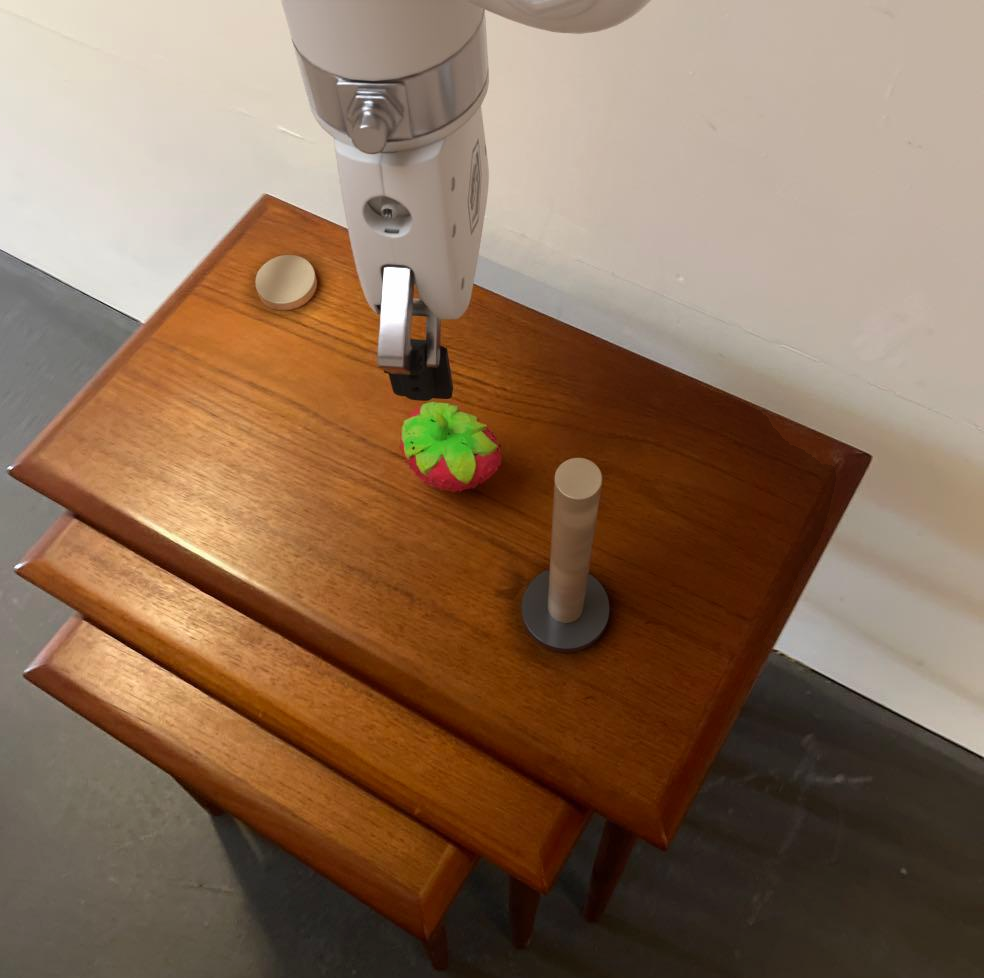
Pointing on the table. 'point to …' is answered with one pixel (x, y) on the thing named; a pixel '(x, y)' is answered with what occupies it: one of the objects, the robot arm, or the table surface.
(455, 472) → the strawberry
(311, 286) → the puck
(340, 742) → the table surface
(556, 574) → the post
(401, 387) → the robot arm
